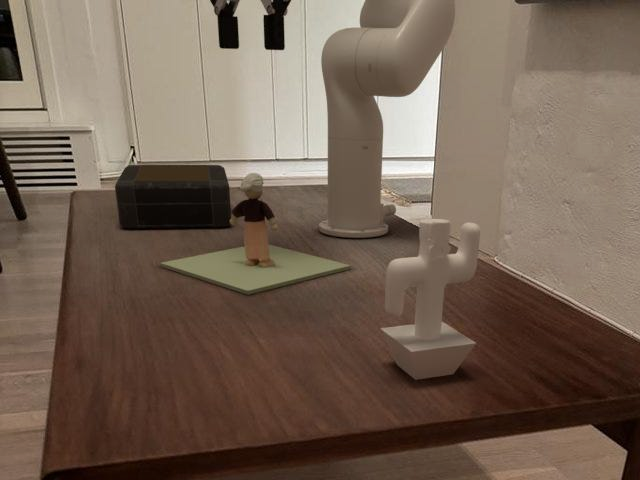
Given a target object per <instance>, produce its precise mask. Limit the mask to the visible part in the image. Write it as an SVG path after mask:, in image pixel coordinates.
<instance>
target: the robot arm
mask: <svg viewBox="0 0 640 480" xmlns="http://www.w3.org/2000/svg"><path fill="white" fill-rule="evenodd" d="M240 1H241V0H209V2H210V3H211V5H212V7H213V13H214V15H215V16H216V17H217V32H218V45H219V46H218V47H219V48H220V49H223V50H224V49H225V50H238V49H239V48H240V35H239V19H238V16H235V13H236V11H237V8H238V6H239V4H240ZM260 2H261V4H262V6H263V8H264V10H265V12H266V14H263V21H262V22H263V41H264V42H263V43H264V44H263V45H264V46H263V47H264V49H265V50H266V51H284V50H285V48H286V43H285V41H286V40H285V17H286V16H287V15H288V11H289V10H288V8H289V5H290V3H291V2H292V0H260ZM455 18H456V2H455V0H364V2H363V4H362V6H361V9H360V14H359V26H360V27H346V28H342V29H339V30H336V31H335V32H333V33H332V34H331V35H330V36H329V37H328V38H327V39H326V41H325V42H324V44H323V47H322V51H321V61H320V63H321V72H322V77H323V78H322V80H323V84H324V85H323V86H324V90H325V97H326V111H327V219H325V220H323V221H321V222H319V223H318V231H319V232H320V233H322V234H323V235H326V236H331V237H338V238H347V239H366V238H367V239H369V238H375V237H382V236H384V235H386V234H388V233H389V225H388V224H387V223H386V222H384V219H385V217H390V216H394V215H395V214H396V212H397V208H396V205H395V204H386V205H384V203H382V202H381V200H382V174H383V149H384V148H383V147H384V121H383V116H382V113H381V110H380V108H379V105H378V103H377V101H376V98H375V97H385V98H403V97H408V96H410V95H412V94H413V93H414V92H415V91H416V90H417V89H418V88H419V87H420V86H421V84H422V83H423V81H424V79H425V78H426V77H427V75H428V74H429V72H430V70H431V69H432V67H433V66H434V64H435V63H436V61H437V59H438V58H439V56H440V54H441V53H442V51H443V50H444V48H445V46H446V45H447V43H448V42H449V40H450V37H451V34H452V32H453V29H454V24H455Z"/></svg>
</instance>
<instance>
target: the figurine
mask: <svg viewBox="0 0 640 480" xmlns="http://www.w3.org/2000/svg"><path fill="white" fill-rule="evenodd" d="M451 225H452V223H451V221H450V220H449V219H448V220H447V219H443V218H425V219H420V220H419V226H418V227H419V228H418V229H419V231H418V239H419V249H418V250H419V252H418V255H417V256H411V257H398V258H394V259H392V260H391V261H390V262H389V264H388V266H387V268H386V273H385V286H384V287H385V288H384V289H385V290H384V311H385V313H386V314H387V315H388V316H390V317H395V318H396V317H400V316H401V315H402V314H403V312H404V304H405V303H404V302H405V296H406V291H407V289H408V288H416V300H415V301H416V302H415V315H414V324H405V325H397V326H389V327H388V326H387V327H380V328H379V329H380V331H381V334H382V336H383V339H384V341H385V342H386V344H387V347H388V349H389V352H390V353H391V355H392V357H393V360H394V362H395V364H396V365H397V366H398V367H399V368H400V369H401V370H402V371H404V372H405V373H407V374H408V375H409V376H410V377H411V378H413V379H414V380H415V381H417V380H423V379H425V380H426V379H431V378H436V377H437V378H438V377H445V376H451V375H454V374H455V373H456V372H457V370H458V369H459V367H460V366H461V365H462V363H463V362H464V361H465V359H466V358H467V357H468V356H469V354H470V353H471V351H472V350H473V349H474V348H475V346H476V344H477V342H475V341H474V340H472V339H471V338H469V337H468V336H466V335H464V334H463V333H461V332H460V331H458V330H456V329H455V328H453V327H452V326H451V325H448V324H447V323H445V322H443V320H442V319H443V310H444V299H445V298H444V297H445V288H446V286H447V285H448V284H455V283H456V284H458V283H466V282H469V281H470V280H472V279H473V278H474V276H475V274H476V272H477V266H478V261H479V260H478V259H479V250H480V249H479V248H480V241H481V228H480V226H479V225H478V224H477V223H474V222H465V223H463V224H462V226H461V228H460V235H459V242H458V248H457V251H456V253H450V252H451V249H452V247H451V245H450V244H449V243H450V240H451V239H450V236H451Z"/></svg>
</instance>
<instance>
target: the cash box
mask: <svg viewBox="0 0 640 480" xmlns="http://www.w3.org/2000/svg"><path fill="white" fill-rule="evenodd" d="M114 189H115V190H114V191H115V198H116V204H117V206H116V207H117V212H118V221H119V226H121V227H122V228H124V229H126V230H159V229H160V230H162V229H163V230H164V229H165V230H166V229H169V230H172V229H217V228H218V229H223V228H227V227H229V226H232V225H231V224H230V219H231V216H232V208H231V192H230V191H231V189H230V184H229V180H228V176H227V173H226V170H225V167H224V166H222V165H220V164H129V165H127V166H125V167H124V168H123V170H122V171H121V174H120V175H119V177H118V179H117V181H116V182H115V185H114Z"/></svg>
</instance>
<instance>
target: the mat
mask: <svg viewBox="0 0 640 480" xmlns="http://www.w3.org/2000/svg"><path fill="white" fill-rule="evenodd" d="M268 246H269V256H270V259H272V260H273V261H274V262H275V265H274V266H269V267H259V266H258V264H256V265H254V266H247V265H245V262H246V261H247V258H246V251H245V245H244V246H238V247H234V248H229V249H224V250H220V251H214V252H209V253H203V254H198V255H193V256H188V257H182V258H178V259H173V260H168V261H163V262H160V267H161V268H164V269H166V270H169V271H173V272H176V273H178V274H179V273H180V274H181V275H185V276H188V277H192V278H195V279H197V280H200V281H204V282H207V283H210V284H212V285H216V286H220V287H222V288H225V289H229V290H231V291H233V292H234V291H235V292H237V293H241V294H243V295H247V296H249V295H254V294H257V293H262V292H266V291H269V290H274V289H277V288H278V289H279V288H281V287H285V286H289V285H292V284H297V283H301V282H306V281H308V280H309V281H310V280H313V279H317V278H321V277H324V276H325V277H326V276H329V275H332V274H336V273H341V272H345V271H349V270H351V265H350V264H347V263H343V262H339V261H335V260H332V259H327V258H324V257H320V256H316V255H312V254H308V253H303V252H300V251H296V250H292V249H289V248H285V247H281V246H276V245H274V244H269V243H268ZM259 261H260V262H261V261H262V260H261V259H259Z"/></svg>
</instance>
